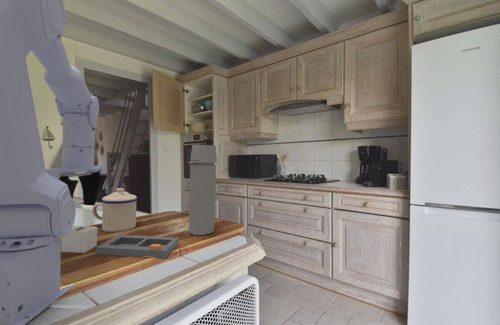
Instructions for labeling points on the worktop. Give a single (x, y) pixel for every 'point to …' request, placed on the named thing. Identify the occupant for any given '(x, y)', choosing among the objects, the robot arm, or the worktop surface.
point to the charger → (79, 239)
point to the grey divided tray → (138, 246)
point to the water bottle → (202, 189)
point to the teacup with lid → (117, 211)
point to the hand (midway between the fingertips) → (77, 208)
